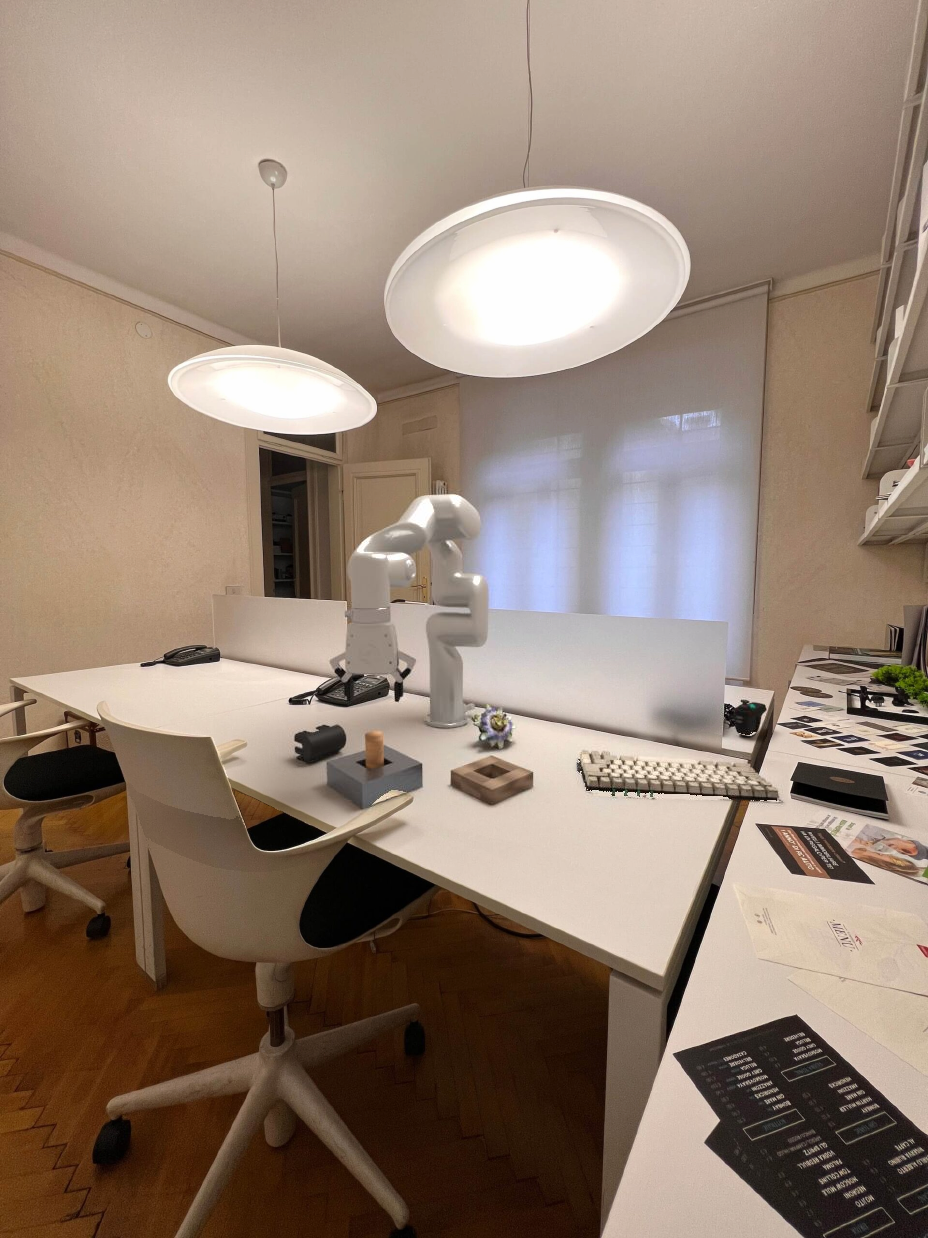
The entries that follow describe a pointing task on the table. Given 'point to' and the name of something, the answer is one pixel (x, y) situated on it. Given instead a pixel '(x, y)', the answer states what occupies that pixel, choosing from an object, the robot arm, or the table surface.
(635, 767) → the mechanical keyboard
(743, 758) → the table surface
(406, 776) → the socket block
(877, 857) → the table surface
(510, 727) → the passion flower
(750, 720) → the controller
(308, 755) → the end cap
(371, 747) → the pin
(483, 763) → the frame
